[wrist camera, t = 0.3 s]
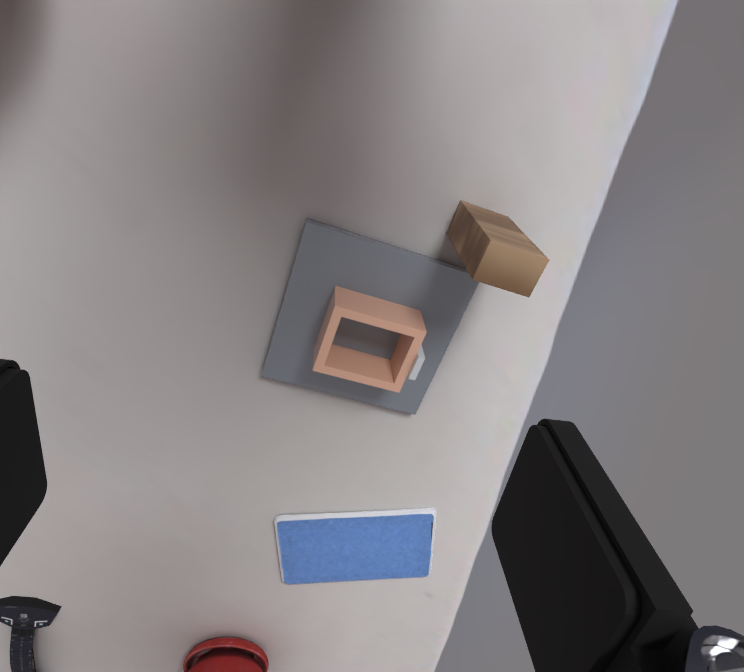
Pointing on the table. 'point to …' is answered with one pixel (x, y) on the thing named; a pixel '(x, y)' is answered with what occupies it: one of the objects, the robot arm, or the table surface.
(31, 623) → the black curved handle
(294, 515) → the tablet computer
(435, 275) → the square base with socket
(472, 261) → the wooden rectangular block
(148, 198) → the table surface
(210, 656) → the plant pot
